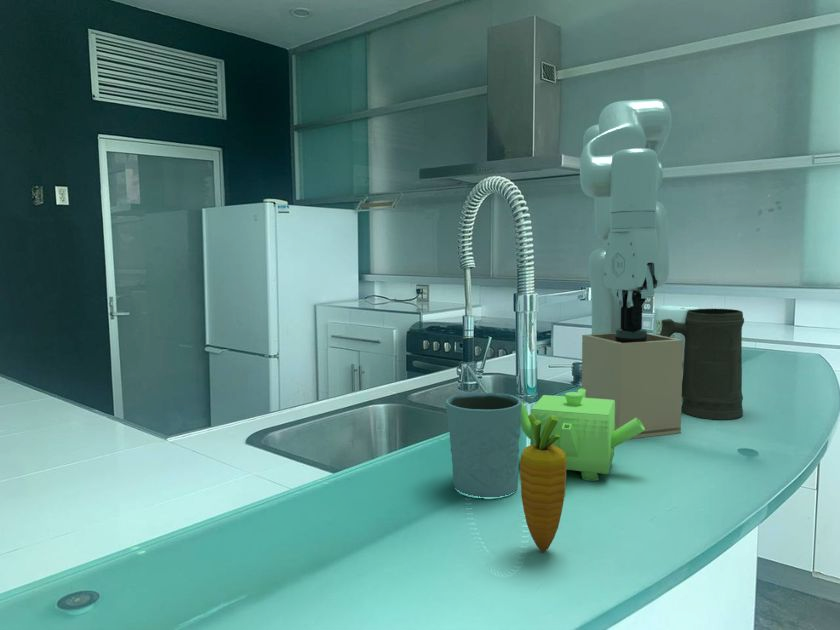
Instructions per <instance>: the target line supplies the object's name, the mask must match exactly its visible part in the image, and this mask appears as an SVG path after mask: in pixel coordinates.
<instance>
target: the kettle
mask: <svg viewBox="0 0 840 630" xmlns="http://www.w3.org/2000/svg"><path fill="white" fill-rule="evenodd" d="M585 395H586V390H585V389H582V388H579V389H577V391H568V392H565V393H564V395H549V394H547V395H546V394H543V395H542V396H541V397H540V398H539V399H538V401H537V402H536V403H535V404H534V405H533V407H532V408H530V414H533V415H534V416H535V419H536V420H540V421H541V429H540V438H541V436H542V432H543V429H544V427H545V425H546V423H547V421H548V419H549V417H550V415H554V416H556V417H557V418H558V422H557V424H556V426H555V428H554V429H553V431H552V433H551V434H550V437H549V439H550V438H551V437H552V436H553V435H554V434H559V435H560V438H559V439H558V440H556V441H555V442H554V443H553V444H552V445H553V446H555V447H558V448H560V449H562V450H563V451H564V452H565V454H566V459H567V463H566V471H573V472H574V471H575V472H576V471H577V472H580V473H581V478H582V479H583V480H585V481H598V480H599V476H598V474H602V475H609V473H610V469H611V466H612V463H613V458H614V457H615V456H614V455H615V447H617V446H620V445H621V444H623V443H625V442H626V441H628V440H630V438H631V439H633V438H632V437H634V436H635V435H637V434H639V433H641V432H643V431H645V428H644V426H643V425H642V423H641V422H640V421H639V419H638V418H634V419H633V420H631V421H630V422H628V423H626V424H625V425H623V426H621V427H620V428H618V429H617V430H615V400H609V399H596V398H585ZM530 414H529V412H528V410H527V407H526V405H525V403H524V402H523V401H522V407H521V427H520V428H521V430H522V431H523V434H524V435H525V436H526V437H527V438H528V439H529V441H530V445H535V444H536V442H535V438H534V433H533V429H532V426H531V423H530V421H529V418H528V416H529V415H530Z"/></svg>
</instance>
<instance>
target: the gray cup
mask: <svg viewBox="0 0 840 630" xmlns="http://www.w3.org/2000/svg"><path fill="white" fill-rule="evenodd" d="M522 402H523V401H522V399H520V398H519V397H517V396H515V395H512V394H508V393H507V394H506V393H500V392H469V393H462V394H456V395H453V396H450V397H449V398H447V399H445V410H446V418H447V426H448V433H449V441H450V442H449V443H450V453H451V463H452V465H451V466H452V480H453V487H454V486H455V488H456V489H457V490H459V491H460V492H462V493H465V494H468V495H473V496H478V497H479V496H480V497H500V496H505V495H509V494H511V493H513V492H515V491H516V492H517V490H518V486H519V473H520V466H519V454H520V445H519V444H520V436H521V428H522V427H521V407H522ZM455 488H454V489H455ZM516 492H515V493H516Z"/></svg>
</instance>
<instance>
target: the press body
mask: <svg viewBox="0 0 840 630" xmlns="http://www.w3.org/2000/svg"><path fill="white" fill-rule="evenodd" d="M581 336H582V337H581V342H582V343H581V347H582V349H581V364H582V365H581V389H585V390H586V395H585V398H596V399H609V400H615V430H617V429H618V428H620V427H621V426H623V425H625V424H626V423H628V422H630V421H631V420H633V419H634V418H638V419H639V421H640V422H641V423H642V425H643V426H644V428H645V431H643V432H641V433H639V434H637V435H635V436H634V437H632V438H630V439H638V438H647V437H656V436H657V437H658V436H664V435H673V434H681V431H682V430H681V429H682V409H681V408H682V402H683V400H682V366H683V340H680V339H675V338H670V337H665V336H660V335H655V334H653V333H649V332H647V341H646V342H631V343H620V342H616V341H615V333H605V334H592V333H590V334H582V335H581ZM630 439H629V440H630Z"/></svg>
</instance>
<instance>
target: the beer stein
mask: <svg viewBox="0 0 840 630" xmlns="http://www.w3.org/2000/svg"><path fill="white" fill-rule="evenodd" d="M744 323H745V318H744V312H743V311H742V310H739V309H733V308H732V309H730V308H700V309H694V310H688V311H687V316H686V319H685V323H684V324H683V323H678V322H674V321H673V320H672V319H664V320H662V329H661V333H660V336H665V337H670V336H671V335H672V334H674V333H681V334H683V335H684V337H685V347H684V366H683V380H682V398H683V400H682V402H681V412H683V413H684V414H686V415H689V416H692V417H695V418H701V419H708V420H719V421H720V420H734V419H735V420H736V419H738V418H741V417H742V416H743V415H744V409H743V400H744V396H743V392H742V390H743V387H742V384H743V383H742V382H743V365H742V364H743V363H742V362H743V360H742V359H743V356H742V354H743V353H742V347H743V346H742V345H743V341H742V337H743V336H742V334H743V331H742V330H743V325H744Z"/></svg>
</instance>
